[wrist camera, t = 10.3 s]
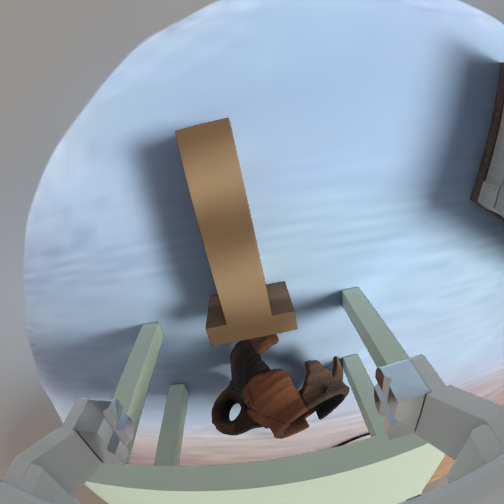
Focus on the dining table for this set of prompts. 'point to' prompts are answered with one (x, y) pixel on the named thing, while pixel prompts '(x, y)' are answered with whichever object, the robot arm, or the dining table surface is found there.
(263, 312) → the push stick
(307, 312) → the dining table surface
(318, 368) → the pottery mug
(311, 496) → the footstool
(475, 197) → the model house
